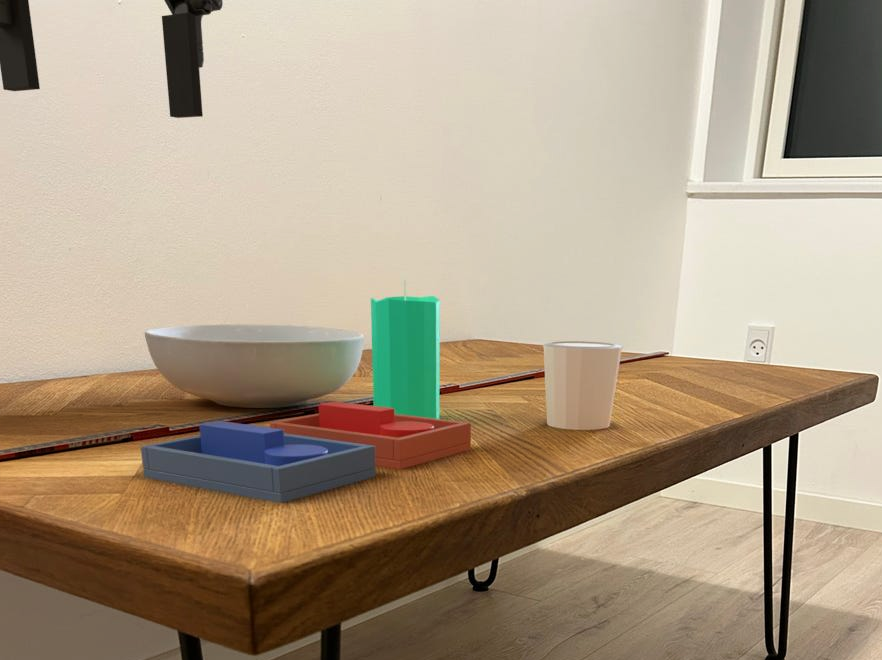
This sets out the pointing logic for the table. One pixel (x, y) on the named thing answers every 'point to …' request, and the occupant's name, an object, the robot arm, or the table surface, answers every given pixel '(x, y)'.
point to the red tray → (392, 439)
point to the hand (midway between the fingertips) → (110, 104)
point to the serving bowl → (256, 362)
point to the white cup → (580, 383)
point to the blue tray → (260, 468)
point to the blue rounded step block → (253, 444)
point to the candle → (406, 354)
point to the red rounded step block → (367, 420)
